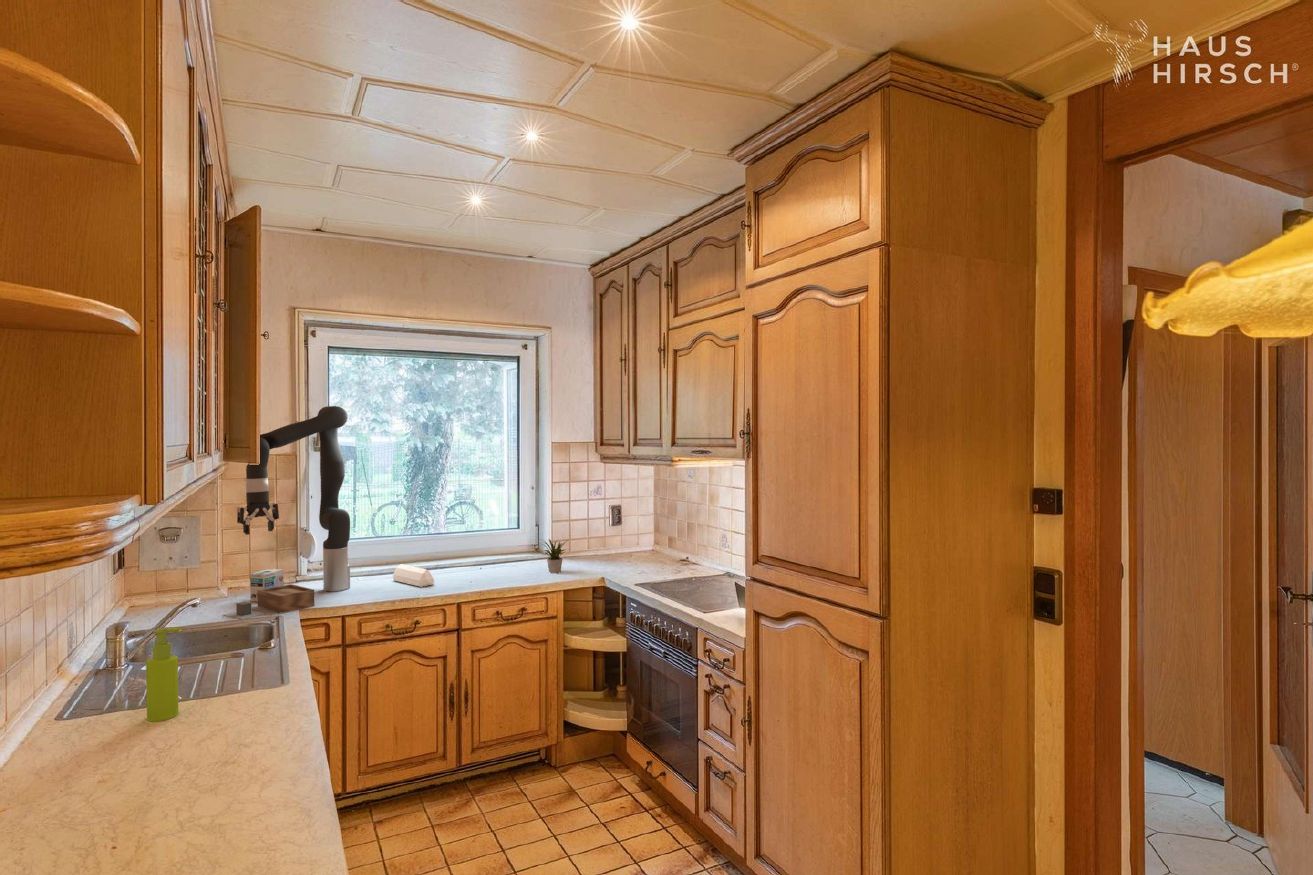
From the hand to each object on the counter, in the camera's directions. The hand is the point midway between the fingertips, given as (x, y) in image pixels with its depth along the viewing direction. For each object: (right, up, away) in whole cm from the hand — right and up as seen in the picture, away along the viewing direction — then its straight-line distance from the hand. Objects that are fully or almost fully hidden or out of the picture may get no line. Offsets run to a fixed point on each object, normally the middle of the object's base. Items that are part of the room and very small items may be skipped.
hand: (258, 532), depth 267 cm
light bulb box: (-1, -27, +7) cm, 28 cm away
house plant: (+103, -26, +55) cm, 120 cm away
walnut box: (+13, -27, -5) cm, 30 cm away
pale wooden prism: (+47, -27, +35) cm, 64 cm away
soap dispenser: (+39, -28, -106) cm, 116 cm away
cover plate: (+4, -27, -17) cm, 33 cm away
